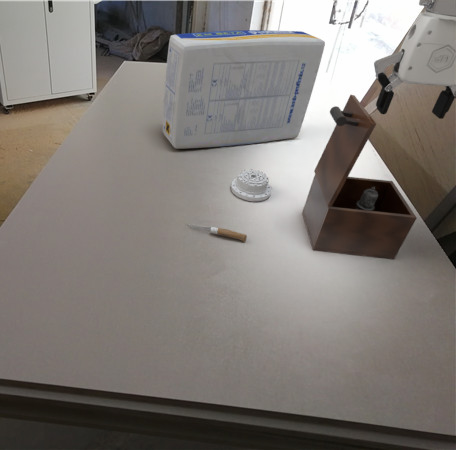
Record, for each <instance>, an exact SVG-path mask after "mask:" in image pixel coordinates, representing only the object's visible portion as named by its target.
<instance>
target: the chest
mask: <svg viewBox="0 0 456 450" xmlns="http://www.w3.org/2000/svg"><path fill="white" fill-rule="evenodd" d="M372 187H375V189H374V190H375V191H376V192H377V193H378V197H377V200H376V202H375V204H374V206H375V209H374V210H372V211H367V210H357V209H356V207H357V204H356V203H357V201H360V198H361V196H362V194H363V192H364V190H366V189H372ZM413 211H414V210H412V208H411V207H410V205H409V204H408V202H407V200H406V199H405V198H404V196H403V195H402V193H401V192H400V190H399V189H398V186H396V184H395V183H394V181H393V180H386V179H384V180H383V179H376V178H364V177H357V176H356V177H355V176H348V177H347V179H346V181H345V183H344V185H343V187H342V188H341V190H340V192H339V194H338V196H337V198H336V200H335V201H334V203H333V205H332V207H329V206H327V203H326V201H325V198H324V195H323V193H322V190H321V188H320V185H319V182H318V180H317V177H316V175H315V174H314V175H313V179H312V182H311V185H310V188H309V191H308V193H307V197H306V200H305V202H304V206H303V209H302V212H301V214H302V217H303V221H304V224H305V228H306V231H307V234H308V238H309V241H310V245H311V248H312V250H313V251H315V252H316V251H317V252H325V253H334V254H335V253H336V254H343V255H344V254H345V255H351V254H352V256H362V257H370V258H380V259H389V260H395V258H396V256H397V254H398V253H399V251H400V249H401V248H402V245H403V244H404V242H405V240H406V239H407V236H408V235H409V233H410V232H411V230H412V228H413V226H414V224H415V222H416V220H417V218H418V217H417V216H416V214H415V213H414V212H413Z"/></svg>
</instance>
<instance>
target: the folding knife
mask: <svg viewBox="0 0 456 450" xmlns="http://www.w3.org/2000/svg"><path fill="white" fill-rule="evenodd" d="M184 225H185V226H186V227H187V228H189V229H192V230H196V231H203V232H209V233H211V234H216V235H220V236H223V237H227V238H232V239H233V238H234V239H237V240H240V241H241V242H243V243H246V241H247V237H248V235H247V234H245V233H242V232H241V233H240V232H238V231H237V232H236V231H235V230H234V231H233V230H230V229H227V228H222V227H221V228H220V227H215V226H205V225H200V224H199V225H198V224H190V223H184Z"/></svg>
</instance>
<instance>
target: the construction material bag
mask: <svg viewBox="0 0 456 450" xmlns="http://www.w3.org/2000/svg"><path fill="white" fill-rule="evenodd" d="M325 46H326V41H325V40H323V39H321V38H319V37H316V36H314V35H311V34H309V33H307V32H304V31H301V30H300V31H299V30H297V31H295V30H258V29H257V30H256V29H253V30H252V29H251V30H247V29H246V30H245V29H244V30H239V29H237V30H218V31H203V32H188V33H176V34H172V35H170V37H169V42H168V48H167V49H168V50H167V59H166V69H165V77H164V79H165V80H164V93H163V110H162V111H163V112H162V134H163V135H164V137H166V139H167V140H168V142H169V143H170V144H171V145H172V147H173V148H174V149H177V150H179V149H181V150H183V149H199V148H200V149H202V148H217V147H231V146H241V145H250V144H259V143H266V142H273V141H281V140H286V139H293V138H297V137H298V136H299V135H300V132H301V129H302V125H303V123H304V120H305V116H306V113H307V110H308V106H309V103H310V102H311V101H310V100H311V97H312V93H313V91H314V87H315V83H316V80H317V76H318V74H319V73H318V72H319V69H320V65H321V62H322V58H323V54H324V50H325Z"/></svg>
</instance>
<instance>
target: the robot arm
mask: <svg viewBox="0 0 456 450" xmlns="http://www.w3.org/2000/svg"><path fill="white" fill-rule="evenodd" d="M418 5H419V6H422V7H424V9H423V10H424V12H420V13H419V14H418V15H417V17H416V19H415V20H414V21H413V24H412V25H411V27H410V29H409V31H408V33H407V34H406V36H405V38H404V40H403V42H402V45H401V47H400V48H399V51H396V52H395V53H391V54H390V55H387V56H384V57H382V58H379V59H377V60H375V61H374V63H373V66H374V72H375V78H376V79H377V81H378V83H379V85H380V87H381V89H380V92H379V95H378V97H377V100H376V102H375V107H376V110H377V111H378V112H379V113H380V114H381V115H386V114H387V113H388V111H389V108H390V106H391V104H392V101H393V99H394V95H395V92H394V91H393V90H395V88H397V87H398V86H400V85H401V84H402V83H406V84H409V85H410V84H411V85H412V84H413V85H422V86H423V85H424V86H436V87H437V86H439V87H444V88H445V90H443V89H442V90H441V91H440V93H439V95H438V97H437V99H436V102H435V103H434V106H433V108H432V110H431V113H432V114H433V115H435V117H436V118H438V119H440V120H442V119H444V118H445V116H446V114H447V113H448V112H449V110H450V109H451V107H452V105H453V102H454V100H455V99H456V0H419V1H418ZM390 66H392V72H391V73H390V74H388V76H387V74H386V68H387V67H390Z"/></svg>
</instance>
